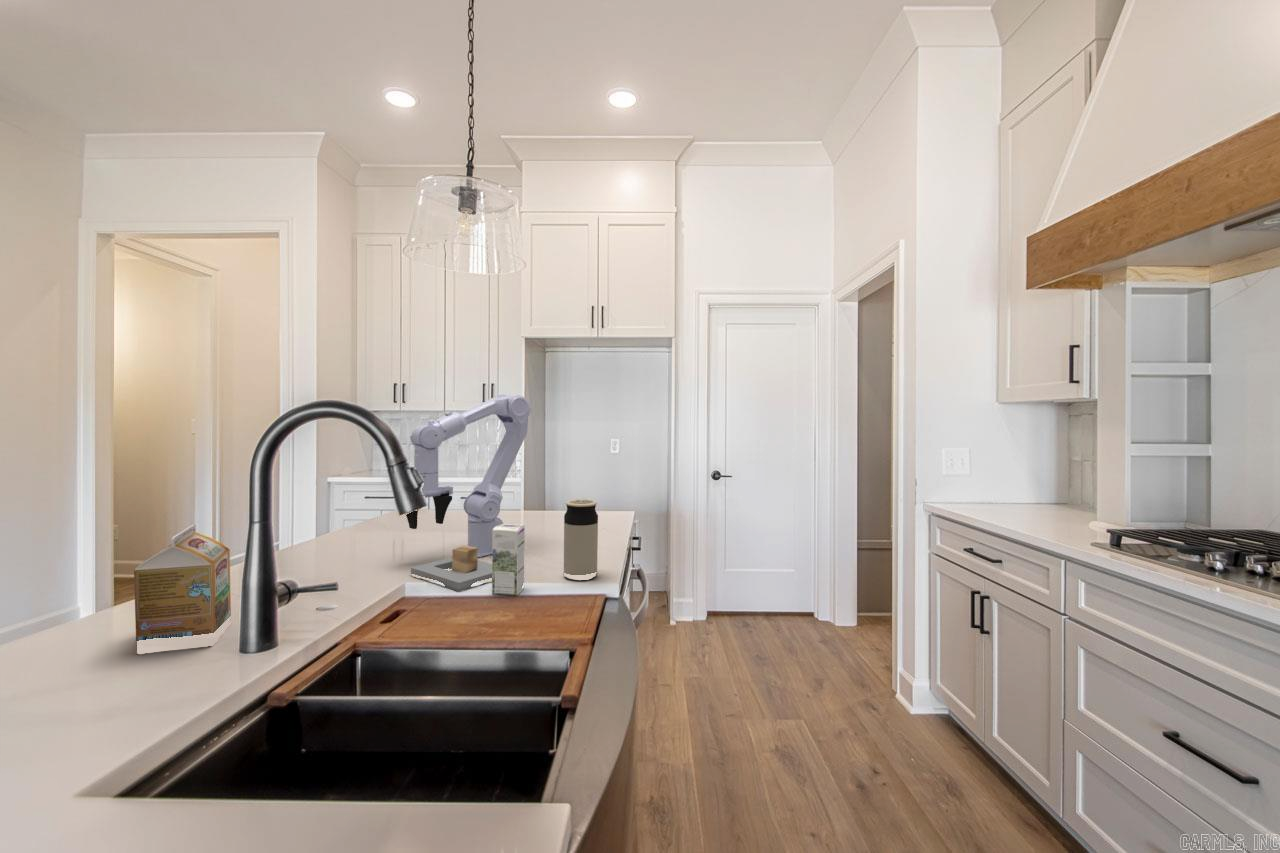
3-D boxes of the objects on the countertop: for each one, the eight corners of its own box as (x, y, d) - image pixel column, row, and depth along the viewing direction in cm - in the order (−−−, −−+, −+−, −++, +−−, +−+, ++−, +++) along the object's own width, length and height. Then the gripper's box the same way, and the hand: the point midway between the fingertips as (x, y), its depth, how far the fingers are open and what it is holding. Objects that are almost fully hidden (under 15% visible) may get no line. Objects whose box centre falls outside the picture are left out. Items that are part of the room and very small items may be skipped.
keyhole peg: (463, 572, 144) (463, 545, 143) (477, 574, 142) (477, 547, 142) (452, 577, 140) (452, 549, 140) (466, 579, 138) (466, 551, 138)
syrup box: (525, 587, 135) (525, 523, 134) (517, 596, 129) (517, 529, 128) (500, 586, 135) (500, 522, 135) (491, 595, 130) (491, 528, 129)
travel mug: (601, 579, 142) (602, 503, 141) (568, 583, 139) (569, 505, 138) (591, 570, 149) (592, 498, 148) (560, 573, 146) (560, 499, 145)
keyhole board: (460, 563, 153) (460, 555, 153) (508, 576, 143) (508, 568, 142) (410, 575, 142) (410, 567, 142) (458, 591, 131) (458, 582, 131)
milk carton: (161, 631, 108) (158, 525, 107) (231, 624, 111) (228, 522, 110) (136, 655, 98) (133, 539, 97) (213, 646, 102) (210, 535, 101)
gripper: (441, 468, 160) (441, 519, 161) (390, 473, 149) (391, 528, 149) (458, 470, 156) (457, 522, 157) (407, 476, 144) (407, 532, 145)
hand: (426, 525), depth 153 cm, fingers open, 7 cm apart
